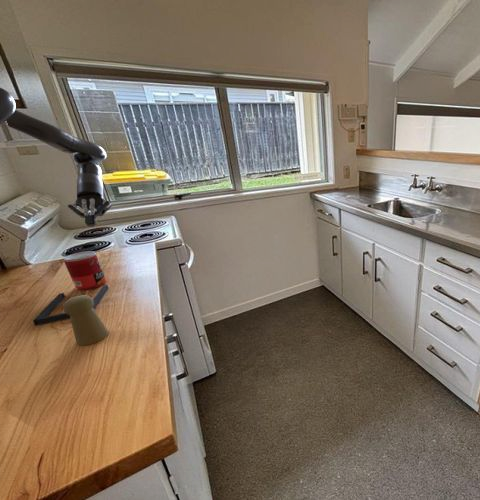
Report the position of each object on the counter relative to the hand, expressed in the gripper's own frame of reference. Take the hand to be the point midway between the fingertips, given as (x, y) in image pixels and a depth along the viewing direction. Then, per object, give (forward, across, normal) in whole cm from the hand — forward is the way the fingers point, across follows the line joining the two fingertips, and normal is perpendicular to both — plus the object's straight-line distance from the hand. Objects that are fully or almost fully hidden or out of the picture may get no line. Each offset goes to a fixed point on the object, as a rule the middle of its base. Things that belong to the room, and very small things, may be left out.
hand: (90, 225), depth 104 cm
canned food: (+24, 0, 0) cm, 24 cm away
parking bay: (+34, 0, -10) cm, 35 cm away
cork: (+50, +10, -26) cm, 57 cm away
